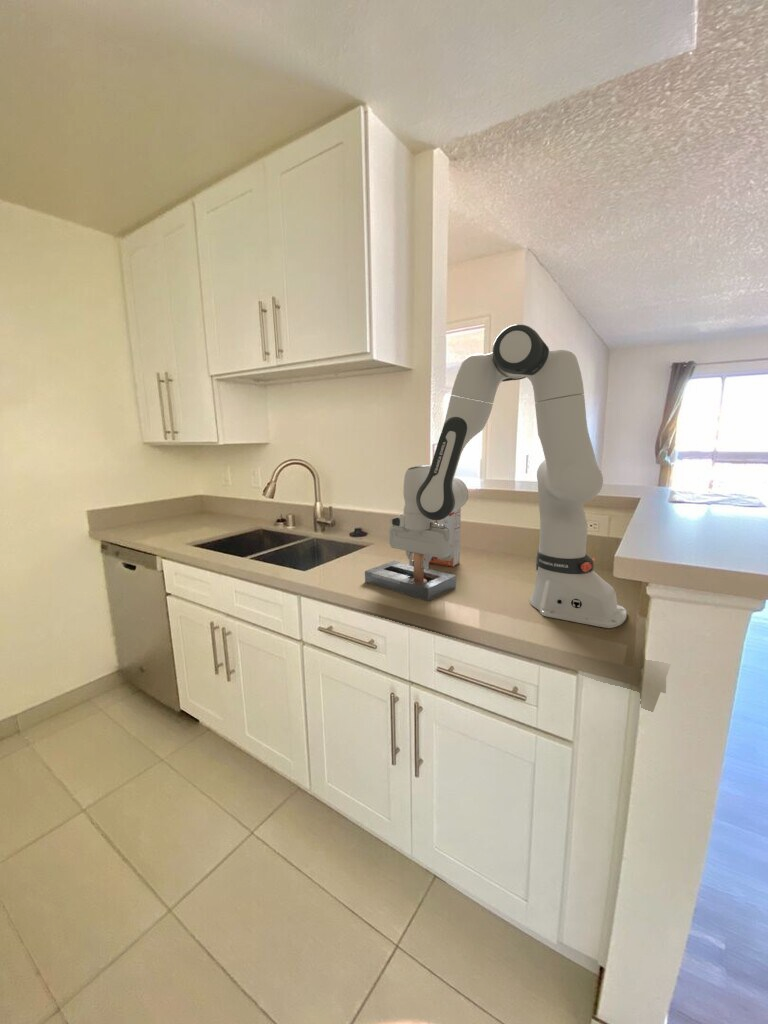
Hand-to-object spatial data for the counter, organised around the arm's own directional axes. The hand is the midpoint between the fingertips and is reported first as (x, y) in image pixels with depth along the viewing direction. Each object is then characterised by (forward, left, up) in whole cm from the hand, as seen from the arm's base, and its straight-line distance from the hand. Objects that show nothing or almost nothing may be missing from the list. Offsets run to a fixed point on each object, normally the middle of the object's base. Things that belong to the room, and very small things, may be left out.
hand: (418, 567), depth 122 cm
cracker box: (+10, -25, -7) cm, 27 cm away
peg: (0, 0, -5) cm, 5 cm away
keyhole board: (+4, 0, -6) cm, 7 cm away
